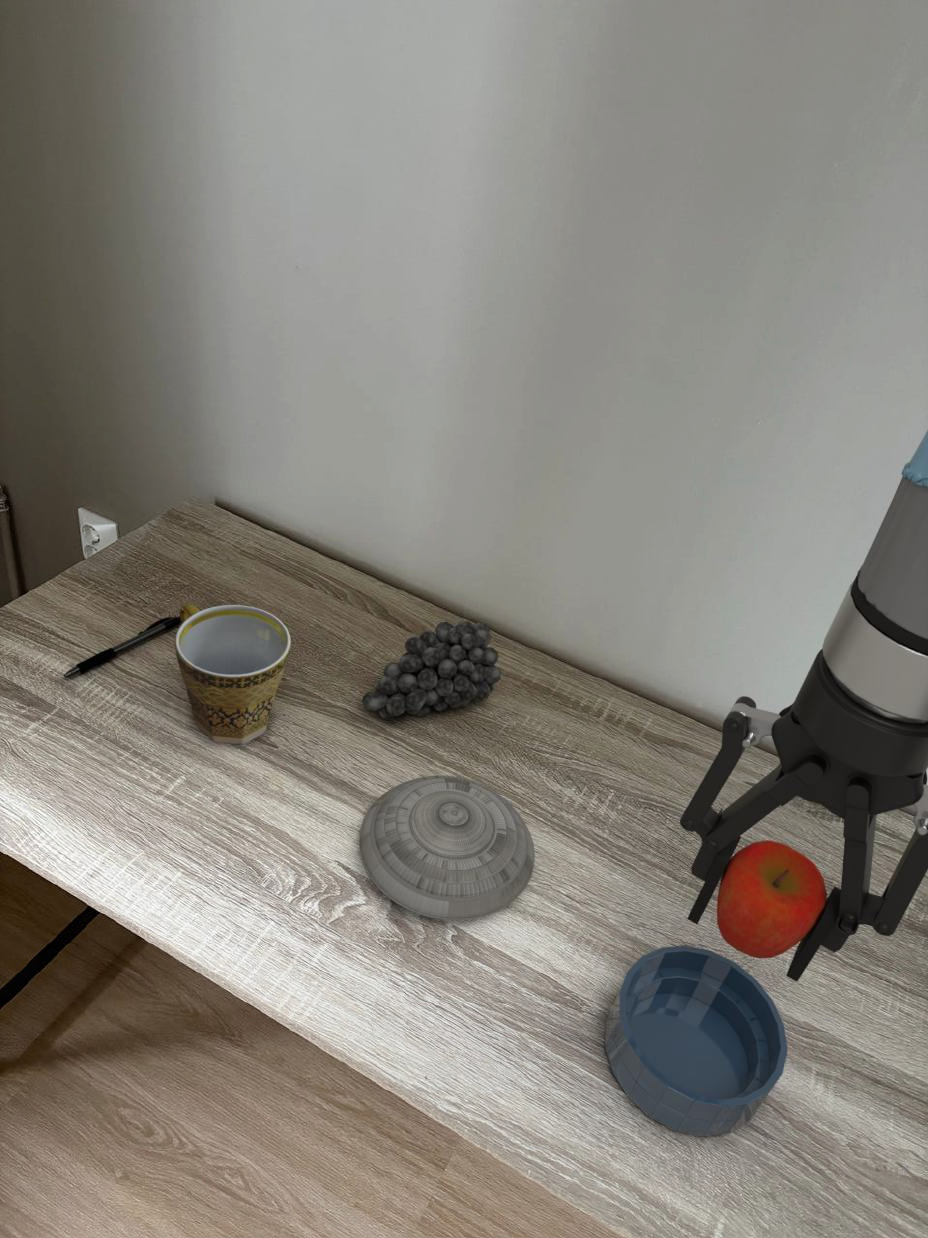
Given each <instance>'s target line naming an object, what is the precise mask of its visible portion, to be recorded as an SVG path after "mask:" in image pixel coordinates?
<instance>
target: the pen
mask: <svg viewBox="0 0 928 1238" xmlns="http://www.w3.org/2000/svg"><path fill="white" fill-rule="evenodd" d="M181 623H182V622H181V619H180V615H179V616H168V617H164V618H161V619H158V620H156V621H154V622H153V623H151V624H150V625H149V626H147V627H146V628H145V630H142V631H139V632H138V633H137V635H135V636H133V637H131V638H129V639H127V640H124V641H123V642H121V643H119V644H117V645H115V646H113V647H109V648H107V649H104V650H102V651H100V652H98V653H96V654H95V655H92V656H91V657H88V658H87V659H85V660H83V661H81V662H78V663H77V664H76V665H75V666H73V667H72V668H70V669H68V670H67V671H66V672H65V673H64V675H63V677H64V678H65V679H67V678H68V679H69V678H73V677H76V676H78V675H83V674H85V673H87V672H89V671H91V670H93V669H96V668H97V667H99V666H102V665H104V664H106V663H108V662H110V661H111V660H113V659H116V657H117V656H120V655H121V654H123V653H126V652H127V651H129V650H131V649H133V648H135V647H137V646H139V645H141V644H143V643H146V642H147V641H149V640H151V639H153V638H155V637H157V636H160V635H161V634H164V633H165V632H168V631H170V630H172V629H174V628H176V627H179V626H180V625H181Z"/></svg>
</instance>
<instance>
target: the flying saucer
mask: <svg viewBox="0 0 928 1238" xmlns="http://www.w3.org/2000/svg"><path fill="white" fill-rule="evenodd" d="M364 815H365V816H364V818H363V820H362V822H361V825H360V828H359V835H358V849H359V856H360V859H361V862H362V864H363V867H364V869H365V871H366V873H367V876H368V877H369V878H370V879H371V881H372V882H373V883H374V885H375V886H376V887H377V888H378V889H379V890H380V892H382V893H383V894H384V895H385V896H386V897H388V899H390V900H391V901H393V902H394V903H396V904H397V905H398V906H401V907H402V908H404V909H406V910H407V911H410V912H412V913H415V914H417V915H420V916H423V917H427V918H430V919H436V920H441V921H442V920H443V921H470V920H476V919H480V918H484V917H488V916H491V915H493V914H495V913H498V912H499V911H501V910H504V908H506V907H508V906H509V905H511V904H512V903H513V902H515V901H516V900H517V899H518V898H519V896H521V894H522V893H523V892H524V890H525V889H526V888H527V886H528V885H529V882H530V880H531V879H532V875H533V872H534V868H535V861H536V853H535V851H536V850H535V845H534V840H533V838H532V834H531V832H530V830H529V828H528V826H527V824H526V822H525V820H524V819H523V817H522V815H521V814H520V813H519V811H518V810H517V809H516V808H515V807H514V806H513V805H512V804H511V803H510V802H509V801H508V800H507V799H505V798H504V797H503V796H502V795H501V794H499V793H498V792H496V791H495V790H493V789H492V788H489V787H488V786H486V785H484V784H481V783H479V782H477V781H474V780H472V779H468V778H464V777H461V776H460V777H459V776H454V775H428V776H421V777H416V778H412V779H410V780H407V781H405V782H402V783H400V784H398V785H396V786H394V787H392V788H390V789H389V790H388V791H386V792H384V793H383V794H382V795H381V796H380V797H378V799H376V800H375V801H374V803H373V804H372V805H371V806H369V808H368V810H367V811H366V814H364Z"/></svg>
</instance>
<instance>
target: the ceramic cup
mask: <svg viewBox="0 0 928 1238" xmlns="http://www.w3.org/2000/svg"><path fill="white" fill-rule="evenodd" d="M179 616H180V619H181V622H180V623H181V624H180V625H179V626H178V629H177V630H176V632H175V633H176V634H175V636H174V648H175V649H174V650H175V655H176V661H177V663H178V669H179V672H180V675H181V677H182V680H183V684H184V685H185V689H186V694H187V697H188V701H189V705H190V707H191V711H192V716H193V719H194V722H195V725H196V726H197V727H198V728H199V729H200V730H201V731H202V732H203V733H204V734H205V735H206V736H207V737H208V738H209V739H210V740H211V741H212V742H214V743H220V744H231V745H246V744H247V743H249V742H251V741H252V740H255V739H256V738H258V737H260V736H262V735H264V734H265V732H266V730H267V727H268V724H269V721H270V720H269V719H270V716H271V712H272V708H273V704H274V700H275V698H276V694H277V690H278V688H279V687H280V686H279V685H280V683H281V681H282V678H283V676H284V672H285V669H286V665H287V662H288V658H289V653H290V650H291V644H292V639H291V635H290V634H291V633H290V632H289V629H288V628H287V627H286V625H285V624H284V623H283V622H282V621H281V620H280V618H278V617H277V616H276V615H274V614H272V613H270V612H268V611H266V610H263V609H260V608H257V607H253V606H248V605H240V604H225V605H217V606H212V607H209V608H205V609H202V610H200V609H199V608H197V607H196V606H194V605H193V604H187V603H186V604H184V605H182V606H181V607H180V609H179Z"/></svg>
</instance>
